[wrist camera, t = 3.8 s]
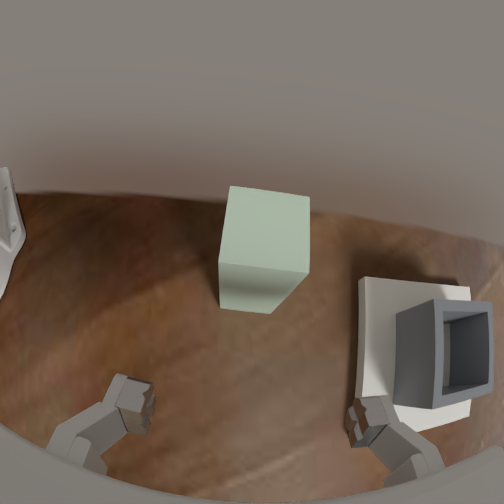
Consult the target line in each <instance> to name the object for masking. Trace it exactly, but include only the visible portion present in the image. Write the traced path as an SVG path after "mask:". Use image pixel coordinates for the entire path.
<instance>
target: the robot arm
mask: <svg viewBox="0 0 504 504" xmlns="http://www.w3.org/2000/svg"><path fill="white" fill-rule="evenodd" d="M25 238H26V232H25V228H24V225H23V221H22V218H21V214H20V210H19V206H18V202H17V198H16V193H15V189H14V184H13V179H12V174H11V170H10V169H9V168H8V167H1V168H0V299H1V297H2V295H3V292H4V290H5V287H6V285H7V282H8V279H9V275H10V271H11V268H12V264H13V261H14V259H15V257H16V255H17V254H18V252H19V250H20V249H21V247H22V245H23V243H24V241H25ZM153 390H154V384H153V382H149V381H145V380H141V379H137V378H133V377H129V376H126V375H122V374H118V373H117V374H116V375H115V376H114V378H113V380H112V382H111V384H110V386H109V388H108V391H107V393H106V395H105V397H104V399H103V401H102V403H101V402H98V403H96V404H94V405H93V406H91V407H89V408H88V409H86V410H84V411H82V412H81V413H79V414H77V415H75V416H74V417H72V418H70V419H69V420H67V421H65V422H63V423H61V424H60V425H58V426H57V427H56V429H55V431H54V433H53V435H52V437H51V439H50V442H49V444H48V446H47V448H46V450H44V449H43V448H41V447H39V446H37V445H35V444H33V443H31V442H30V441H28V440H26V439H24V438H23V437H21V436H19V435H18V434H16V433H15V432H13V431H11V430H10V429H8V428H7V427H5V426H4V425H2V424H1V423H0V504H504V448H502V447H500V446H498V445H493V446H491V447H489V448H487V449H485V450H483V451H481V452H479V453H477V454H475V455H473V456H471V457H469V458H467V459H465V460H463V461H461V462H458V463H456V464H454V465H451V466H449V467H447V468H445V466H444V463H443V461H442V458H441V456H440V454H439V451H438V449H437V447H436V446H435V445H433V444H432V443H430V442H429V441H428V440H426V439H425V438H424V437H422V436H421V435H420V434H418V433H417V432H416V431H414V430H413V429H412V428H410V427H409V426H408V425H406V424H405V423H404V422H400V420H399V418H398V416H397V413H396V411H395V409H394V406H393V404H392V402H391V399H390V397H389V396H388V395H380V396H367V397H357V398H355V399H354V400H353V402H352V404H353V406H352V407H350V408H349V409H348V410H347V412H346V414H345V426H346V429H348V430H349V431H350V433H349V435H348V438H349V442H350V446H351V448H358V447H367V446H369V447H368V448H369V449H370V450H371V451H372V452H373V453H374V454H375V455H376V456H377V457H378V458H379V459H380V460H381V461H382V462H383V463H384V464H385V466H386V467H387V468H388V469H389V470H390V471H391V472H392V473H391V474H390V475H388V476H387V477H386V478H385V479H384V480H383V481H384V485H385V488H383V489H379V490H374V491H370V492H365V493H360V494H355V495H350V496H344V497H337V498H330V499H322V500H312V501H300V502H280V503H251V502H231V501H219V500H210V499H202V498H194V497H188V496H182V495H176V494H171V493H166V492H161V491H157V490H153V489H148V488H144V487H141V486H137V485H133V484H130V483H126V482H123V481H120V480H117V479H113V478H110V477H108V476H105V475H106V472H107V469H108V468H107V466H106V464H105V463H104V461H103V460H102V459H101V457H100V455H101V454H102V453H104V452H105V451H106V450H107V449H108V448H110V447H111V446H112V445H113V444H115V443H116V442H117V441H118V440H119V439H121V438H122V437H123V436H124V435H125V434H127V432H130V433H135V434H139V435H143V436H147V435H148V432H149V428H150V425H151V422H150V417H151V416H153V415H154V411H155V405H156V396H155V394H154V393H153Z"/></svg>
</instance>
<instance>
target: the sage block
mask: <svg viewBox="0 0 504 504" xmlns="http://www.w3.org/2000/svg"><path fill="white" fill-rule="evenodd" d="M309 260H310V198H309V197H305V196H299V195H293V194H286V193H280V192H273V191H266V190H259V189H252V188H244V187H236V186H230V190H229V196H228V202H227V208H226V215H225V221H224V227H223V234H222V240H221V247H220V254H219V261H218V268H219V296H220V308H223V309H231V310H239V311H248V312H257V313H267V314H271V313H272V311H273V310H274V309H275V308H276V307H277V306H278V305H279V304H280V303H281V302H282V301H283V300H284V299H285V298H286V297H287V296H288V295H289V294H290V293H291V292H292V291H293V290H294V289H295V288H296V287H297V286H298V284H299V283H300V282H301V281H302V280H303V279H304V278H305V277H306V276H307V275H308V274H309Z"/></svg>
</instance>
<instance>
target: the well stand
mask: <svg viewBox="0 0 504 504" xmlns="http://www.w3.org/2000/svg"><path fill="white" fill-rule="evenodd" d="M358 293H359V326H358V357H357V374H356V388H355V398H357V397H367V396H380V395H388V396H389V397H390V399H391V402H392V404H393V406H394V409H395V411H396V413H397V416H398V418H399V420H400V422H404V423H405V424H406V425H408V426H409V427H410V428H412V429H413V430H414V431H416V432H418V431H422V430H426V429H429V428H433V427H436V426H440V425H443V424H447V423H450V422H453V421H456V420H459V419H462V418H465V417H468V416H469V412H470V404H471V399H473V398H476V397H479V396H482V395H485V394H488V393H490V392H493V381H494V323H493V309H492V302H487V301H471V297H470V288H469V287H462V286H452V285H442V284H432V283H422V282H412V281H403V280H393V279H384V278H375V277H366V276H365V277H363V278H362V279H360V280H359V281H358Z"/></svg>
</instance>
